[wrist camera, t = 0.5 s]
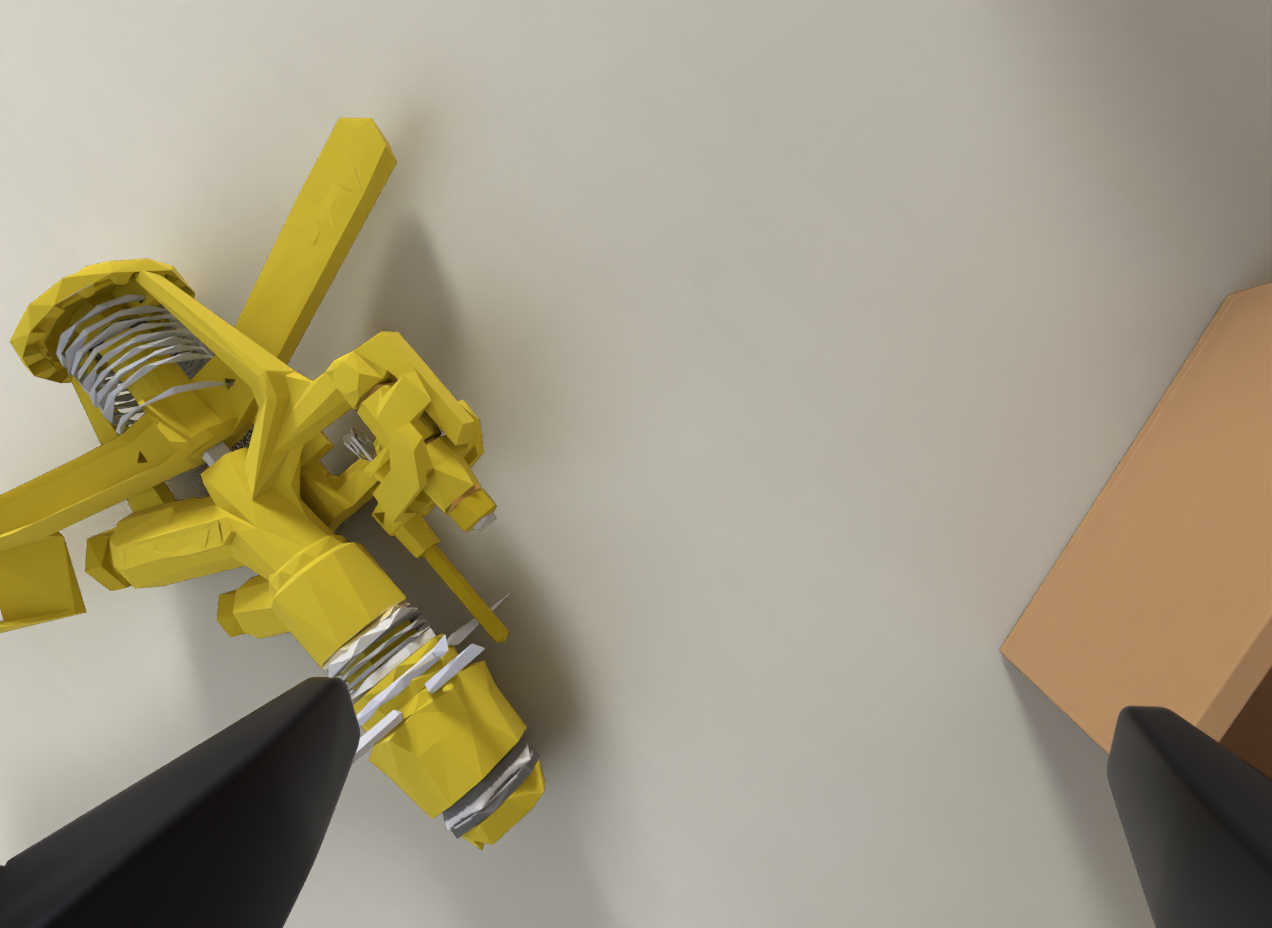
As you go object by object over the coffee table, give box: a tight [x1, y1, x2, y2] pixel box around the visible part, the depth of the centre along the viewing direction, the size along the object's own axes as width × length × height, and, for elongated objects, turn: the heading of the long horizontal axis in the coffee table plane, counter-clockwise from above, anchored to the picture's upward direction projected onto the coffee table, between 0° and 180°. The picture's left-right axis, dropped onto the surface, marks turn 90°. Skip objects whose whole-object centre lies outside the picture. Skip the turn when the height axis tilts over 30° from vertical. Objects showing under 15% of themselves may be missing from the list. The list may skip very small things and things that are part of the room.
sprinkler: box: [0, 118, 545, 850], centre depth 22 cm, size 22×6×20 cm
